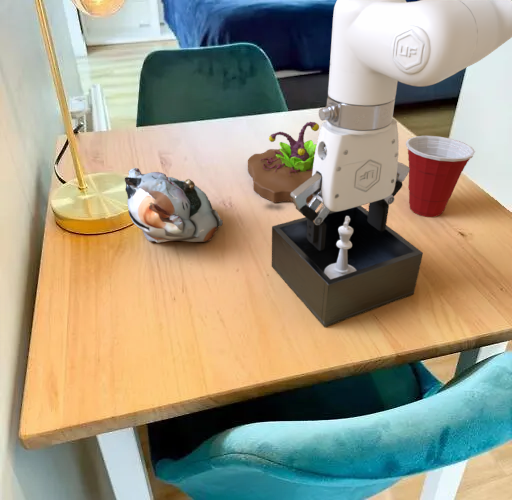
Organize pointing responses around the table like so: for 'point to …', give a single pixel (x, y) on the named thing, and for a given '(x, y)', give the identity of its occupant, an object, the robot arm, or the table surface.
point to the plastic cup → (434, 172)
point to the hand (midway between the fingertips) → (346, 235)
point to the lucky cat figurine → (170, 208)
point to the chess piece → (342, 253)
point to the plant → (283, 167)
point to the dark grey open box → (359, 256)
